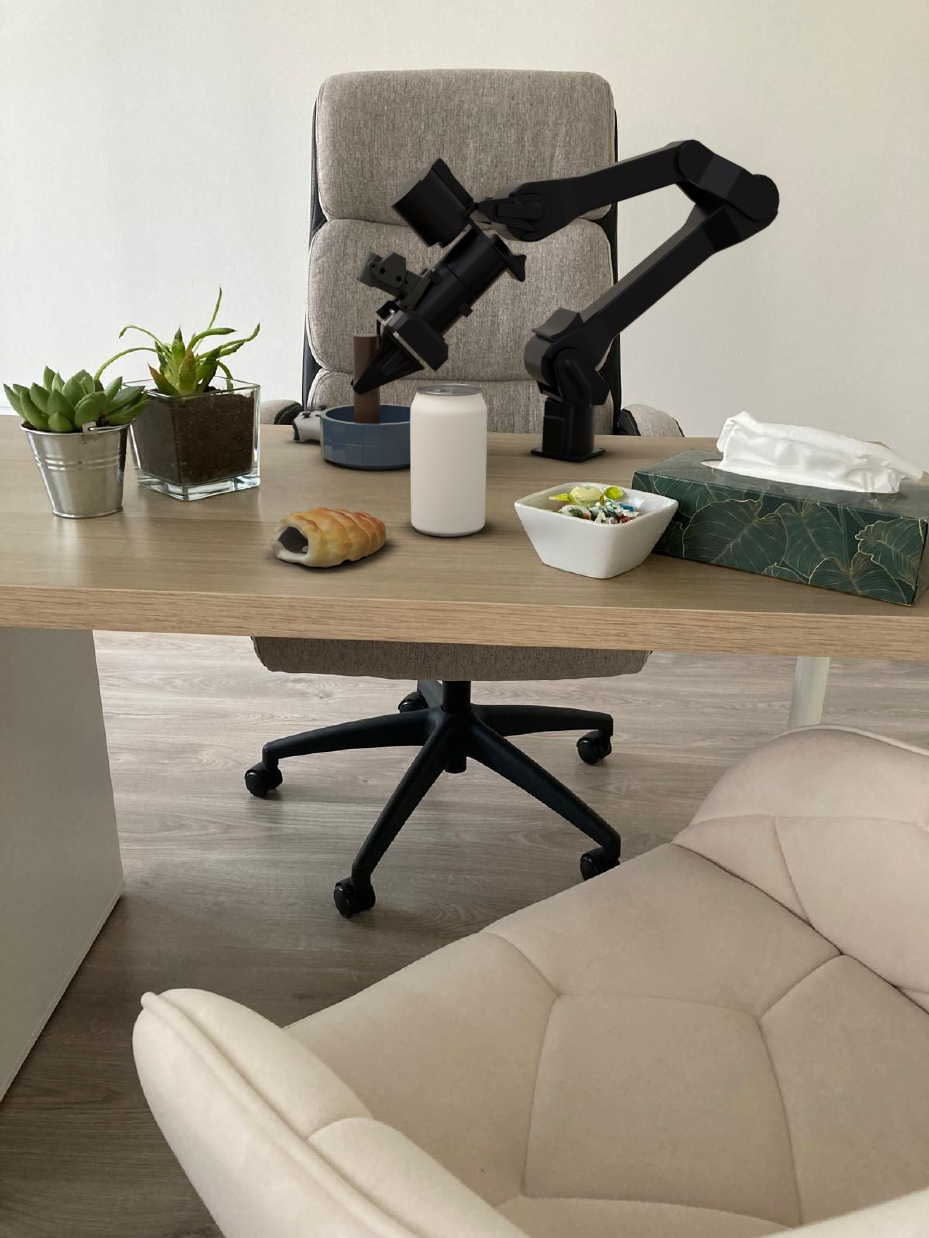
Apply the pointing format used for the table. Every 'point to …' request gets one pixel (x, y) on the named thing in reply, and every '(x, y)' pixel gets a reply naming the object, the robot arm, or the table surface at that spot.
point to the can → (448, 459)
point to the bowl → (366, 438)
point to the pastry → (327, 536)
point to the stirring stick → (362, 354)
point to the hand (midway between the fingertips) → (354, 389)
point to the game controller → (307, 424)
